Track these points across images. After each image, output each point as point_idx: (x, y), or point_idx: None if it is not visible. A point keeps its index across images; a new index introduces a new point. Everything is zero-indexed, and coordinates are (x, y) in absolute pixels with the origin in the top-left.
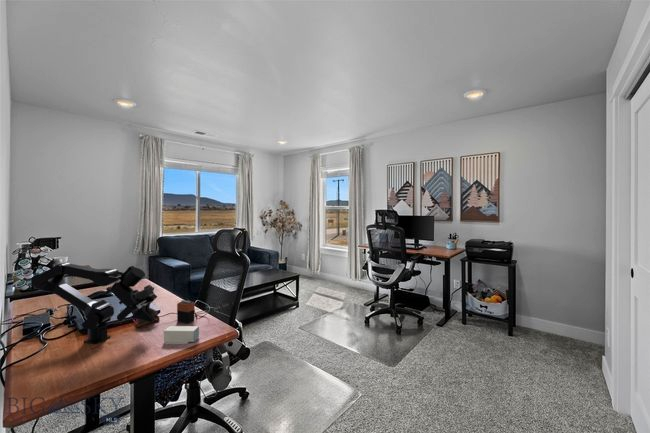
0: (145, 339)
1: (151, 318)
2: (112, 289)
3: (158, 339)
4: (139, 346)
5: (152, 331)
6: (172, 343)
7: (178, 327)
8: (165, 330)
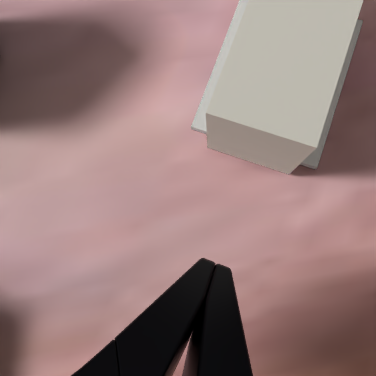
0: None
1: (226, 297)
2: None
3: (215, 222)
4: (303, 345)
5: (39, 292)
6: (333, 112)
7: (271, 27)
8: (314, 132)
